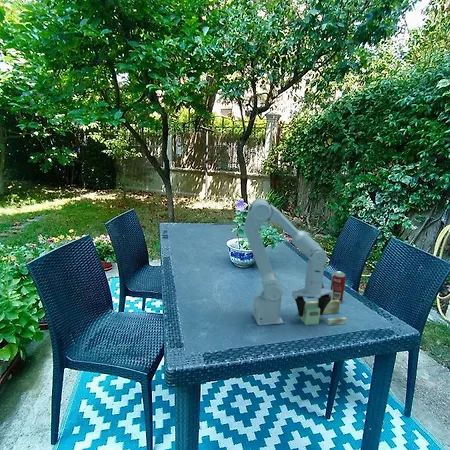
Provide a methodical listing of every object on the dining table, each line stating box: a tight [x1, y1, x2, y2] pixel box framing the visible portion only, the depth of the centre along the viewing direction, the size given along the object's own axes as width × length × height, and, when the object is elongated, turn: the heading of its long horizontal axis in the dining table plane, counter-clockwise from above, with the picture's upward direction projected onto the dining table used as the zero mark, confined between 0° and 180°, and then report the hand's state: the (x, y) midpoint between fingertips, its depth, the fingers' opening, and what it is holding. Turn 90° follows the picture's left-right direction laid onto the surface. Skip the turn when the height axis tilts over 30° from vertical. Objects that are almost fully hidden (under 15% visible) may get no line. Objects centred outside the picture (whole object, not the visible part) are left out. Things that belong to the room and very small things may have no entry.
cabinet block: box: [299, 303, 321, 326], centre depth 105 cm, size 5×5×6 cm
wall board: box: [298, 299, 347, 326], centre depth 108 cm, size 16×9×5 cm, turn 101°
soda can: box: [329, 270, 347, 303], centre depth 122 cm, size 5×5×12 cm
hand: (310, 314), depth 106 cm, fingers open, 7 cm apart
